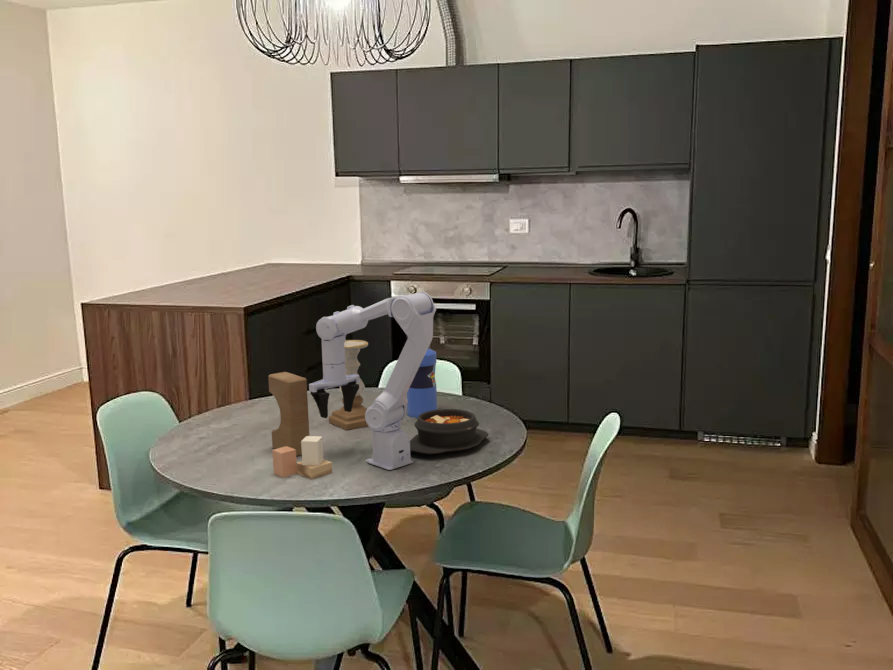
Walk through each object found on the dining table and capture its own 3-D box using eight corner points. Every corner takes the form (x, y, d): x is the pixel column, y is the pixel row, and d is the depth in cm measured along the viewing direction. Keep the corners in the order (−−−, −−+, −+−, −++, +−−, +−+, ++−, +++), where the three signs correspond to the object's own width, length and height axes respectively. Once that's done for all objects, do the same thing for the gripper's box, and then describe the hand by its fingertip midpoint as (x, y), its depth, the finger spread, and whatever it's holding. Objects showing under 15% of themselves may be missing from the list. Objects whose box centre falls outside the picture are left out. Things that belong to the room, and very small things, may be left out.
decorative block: (271, 447, 215) (267, 374, 212) (290, 443, 219) (287, 371, 215) (291, 457, 207) (287, 381, 203) (311, 453, 210) (307, 378, 207)
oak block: (332, 474, 195) (331, 462, 195) (311, 480, 191) (311, 468, 191) (317, 468, 200) (317, 456, 199) (297, 474, 195) (296, 462, 195)
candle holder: (346, 430, 230) (342, 348, 225) (328, 422, 238) (324, 342, 234) (379, 423, 236) (376, 343, 232) (360, 415, 245) (357, 338, 240)
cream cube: (323, 460, 196) (322, 436, 195) (318, 465, 192) (317, 441, 191) (307, 459, 197) (306, 436, 196) (302, 465, 193) (301, 441, 192)
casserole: (438, 466, 199) (438, 433, 197) (388, 450, 211) (387, 419, 210) (504, 442, 216) (504, 412, 215) (454, 429, 229) (453, 400, 228)
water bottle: (439, 410, 249) (438, 330, 245) (435, 418, 240) (433, 335, 236) (409, 409, 250) (407, 330, 246) (404, 418, 241) (401, 335, 237)
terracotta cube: (297, 473, 195) (295, 449, 194) (282, 477, 193) (281, 453, 192) (287, 469, 198) (286, 446, 197) (273, 473, 195) (272, 449, 194)
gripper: (346, 356, 213) (348, 405, 216) (301, 364, 204) (303, 417, 206) (363, 359, 209) (365, 410, 211) (317, 368, 199) (320, 422, 201)
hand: (336, 414), depth 208 cm, fingers open, 7 cm apart
